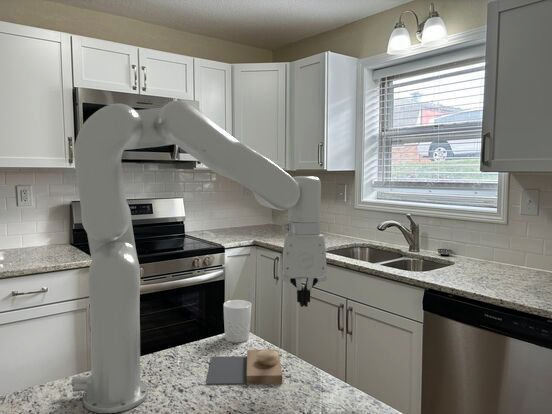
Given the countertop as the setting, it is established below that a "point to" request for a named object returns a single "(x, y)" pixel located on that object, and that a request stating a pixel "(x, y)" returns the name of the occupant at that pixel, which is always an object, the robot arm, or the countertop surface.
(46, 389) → the countertop surface
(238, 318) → the white cup
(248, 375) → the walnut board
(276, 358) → the cream dome knob
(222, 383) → the rubber mat
